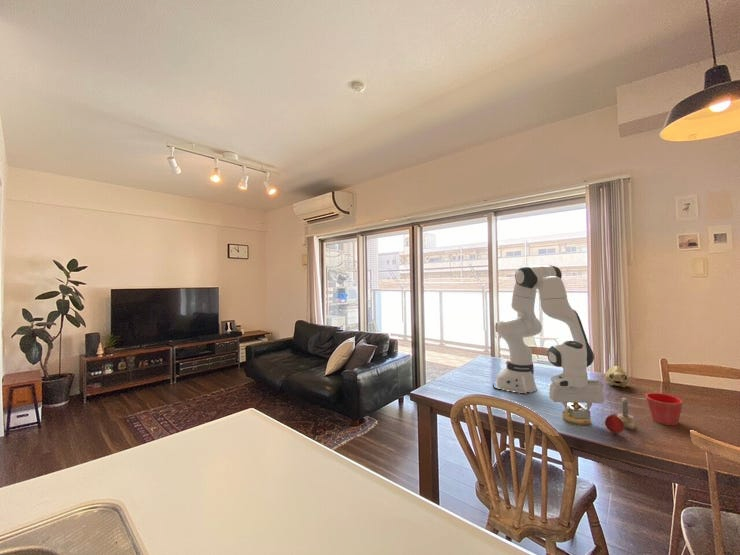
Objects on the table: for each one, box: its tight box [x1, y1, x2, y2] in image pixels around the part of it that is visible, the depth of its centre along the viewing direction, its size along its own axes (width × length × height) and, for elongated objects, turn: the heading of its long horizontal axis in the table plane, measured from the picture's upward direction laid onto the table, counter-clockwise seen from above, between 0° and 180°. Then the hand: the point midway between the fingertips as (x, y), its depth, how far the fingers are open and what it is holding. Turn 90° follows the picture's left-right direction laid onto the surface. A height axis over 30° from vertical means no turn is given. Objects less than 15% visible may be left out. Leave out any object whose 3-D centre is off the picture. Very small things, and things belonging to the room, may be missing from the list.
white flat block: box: [566, 403, 592, 420], centre depth 132 cm, size 6×9×3 cm, turn 171°
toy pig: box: [605, 365, 630, 388], centre depth 166 cm, size 10×12×11 cm
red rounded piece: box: [604, 413, 625, 435], centre depth 120 cm, size 6×6×8 cm
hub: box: [562, 403, 592, 427], centre depth 132 cm, size 10×10×8 cm
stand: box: [617, 397, 635, 430], centre depth 125 cm, size 5×5×11 cm
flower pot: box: [645, 392, 684, 426], centre depth 127 cm, size 11×11×10 cm
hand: (577, 412), depth 132 cm, fingers closed on white flat block, 6 cm apart
